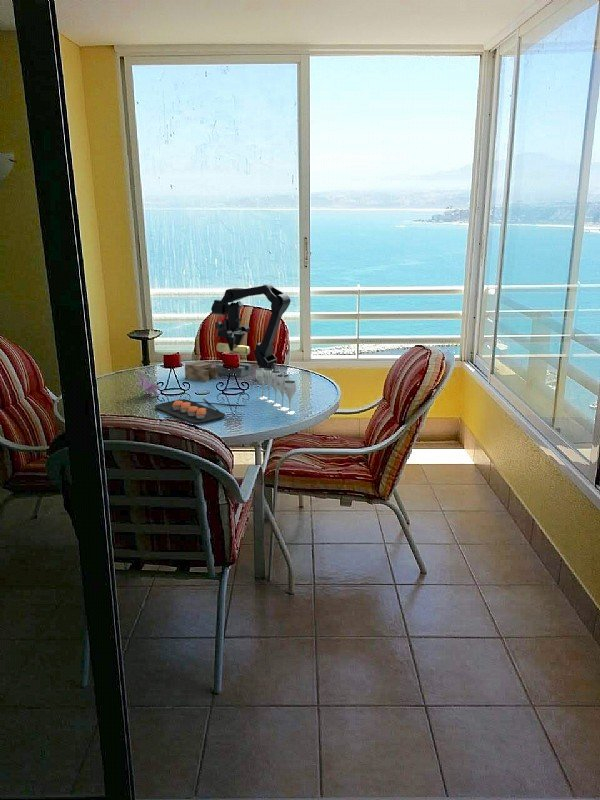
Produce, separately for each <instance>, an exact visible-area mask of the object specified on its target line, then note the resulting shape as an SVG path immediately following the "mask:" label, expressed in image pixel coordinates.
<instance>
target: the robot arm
mask: <svg viewBox="0 0 600 800" xmlns="http://www.w3.org/2000/svg"><path fill="white" fill-rule="evenodd" d="M259 295H263V296H265V297H266V299H267V300H268V302H270V311H271V314H270V317H269V319H268V322H267V326H266V329H265V331H264V335H263V337H262V341H261V342H259V343H256V344H255V349H254V350H253V353H254V355H253V357H254V358H255V360H256V363H257V366H259V367H258V368H268V369H273V371H276V370H275V369H276V364H277V362H278V358H277V357H276V356H275V354H274V345H273V343H274V340H275V337H276V335H277V332H278V328H279V326H280V323H281V320H282V317H283V315H284V314H285V312H286V311H287V309H288V308H289V306H290V304H291V298H290V296H289V295H288V294H286V293H284V292H283V291H281V290H279V289H278V288H276V287H275V286H274V285H272V284H270V283H268V284H263V285H261V286H254V287H247V288H242V287H234V288H232V287H231V288H227V289H226V290H225V291H224V295H223V297H222V298H221V299H214V300H213V303H212V305H211V309H210V310H211V313H212V314H213V315H216V316H217V315H218V316H226V318H224V321H223V322H221V321H219V320H218V321H215V323H214V328H215V329H216V330H217V331H216V337H218V338H223V339H225V341H226V342H227V343H226V344H228V346H229V348H230V351H232V350H233V347H234V345H241V343H242V341H243V340H244V337H245V336H246V334H247V333H248V334H249V333H250V332H251V331H250V329H251V328H250V327H249V325H243V324H242V325H241V322H240V321H242V317H240V315H241V313H240V310H241V309H240V308H241V307H242V308H243V307H245V306H244V303H242V302H241V300H242V299H245V298H248V297H252V296H253V297H254V296H259Z"/></svg>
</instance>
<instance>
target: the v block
mask: <svg viewBox="0 0 600 800" xmlns="http://www.w3.org/2000/svg"><path fill="white" fill-rule="evenodd" d="M239 363H240V366H239V368H237V369H234V370H228V369H224V368H223V364H224V363H218V364H217V363H216V365H215V367H217V375H224V374H225V375H224V376H229V375H228V374H229V372H230V374H231V375H233V373H235V374H236V376H234V375H233V376H232V377H237V378H238V377H239V378H242V377H245V376H247V375H251V374H253V371H254V368H253V364H250V363H245V362H244V363H243V362H239Z"/></svg>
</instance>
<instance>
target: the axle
mask: <svg viewBox="0 0 600 800" xmlns="http://www.w3.org/2000/svg"><path fill="white" fill-rule="evenodd" d="M215 347H216V351H217V352H220V353H229V354H238V355H245V356H248V355H250V353H251V347H250V346H248V345H241V344H240V345H235V344H234V347H233V350H232V351H230V348H229V346H228V343H225V342H223V343H222V342H217V344H216V346H215Z"/></svg>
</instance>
